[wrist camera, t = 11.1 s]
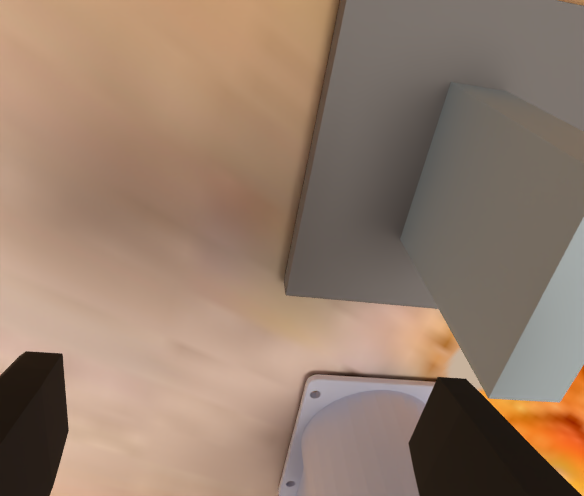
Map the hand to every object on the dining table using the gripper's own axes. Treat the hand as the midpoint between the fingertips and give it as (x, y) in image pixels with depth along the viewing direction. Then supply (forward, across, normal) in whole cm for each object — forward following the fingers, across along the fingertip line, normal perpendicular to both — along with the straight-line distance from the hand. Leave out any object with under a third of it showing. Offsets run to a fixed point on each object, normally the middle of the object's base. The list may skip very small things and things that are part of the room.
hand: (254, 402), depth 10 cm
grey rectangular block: (+9, -7, -2) cm, 12 cm away
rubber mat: (+10, -7, -2) cm, 13 cm away
